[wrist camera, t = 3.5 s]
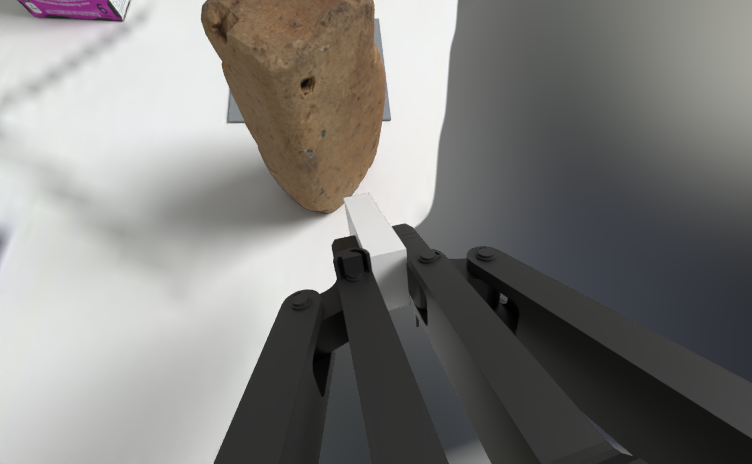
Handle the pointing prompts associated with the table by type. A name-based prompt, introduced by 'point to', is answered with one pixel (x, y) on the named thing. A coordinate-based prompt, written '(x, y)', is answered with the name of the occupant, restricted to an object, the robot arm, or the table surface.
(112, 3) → the candy bar box
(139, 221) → the table surface
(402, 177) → the table surface
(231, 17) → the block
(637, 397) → the robot arm
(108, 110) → the table surface
